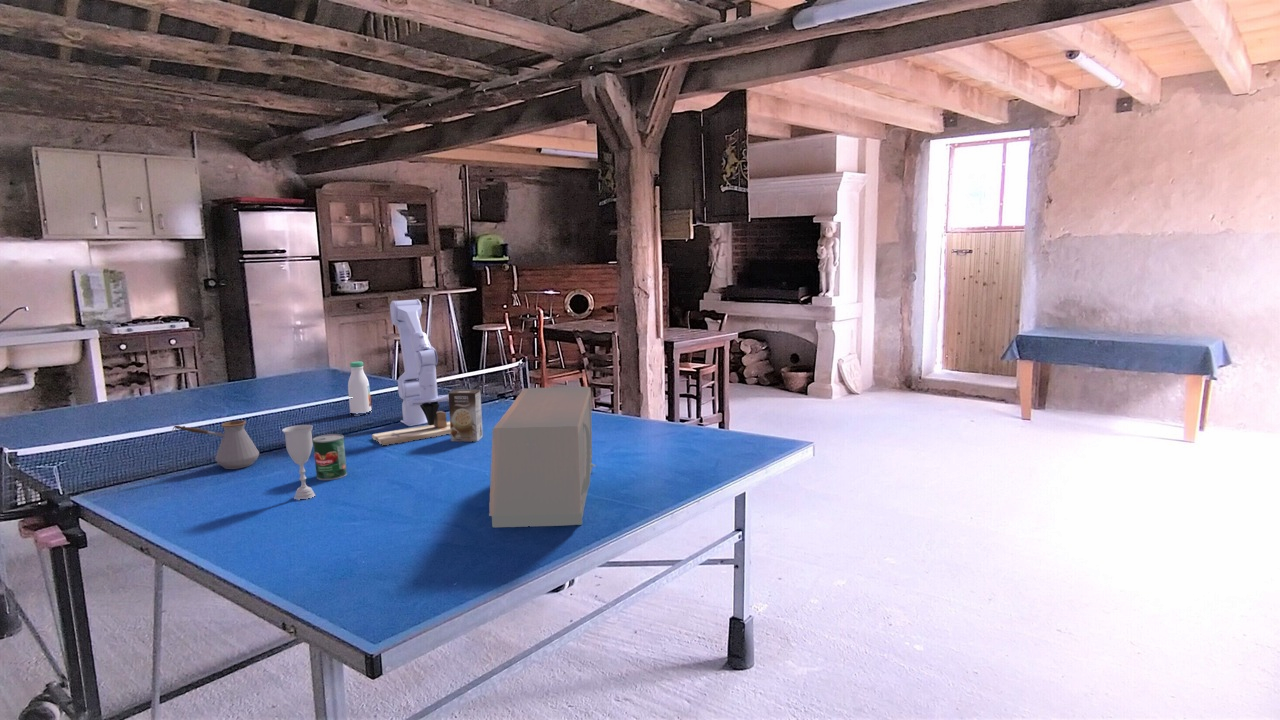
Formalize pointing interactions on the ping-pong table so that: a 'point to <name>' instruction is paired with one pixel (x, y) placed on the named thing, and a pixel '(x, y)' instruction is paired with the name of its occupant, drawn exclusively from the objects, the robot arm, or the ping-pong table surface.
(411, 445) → the ping-pong table surface
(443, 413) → the fader knob
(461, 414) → the coffee box
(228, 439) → the coffee pot
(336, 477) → the canned tomato
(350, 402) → the milk bottle
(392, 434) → the fader panel
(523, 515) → the vintage radio
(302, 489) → the chalice
